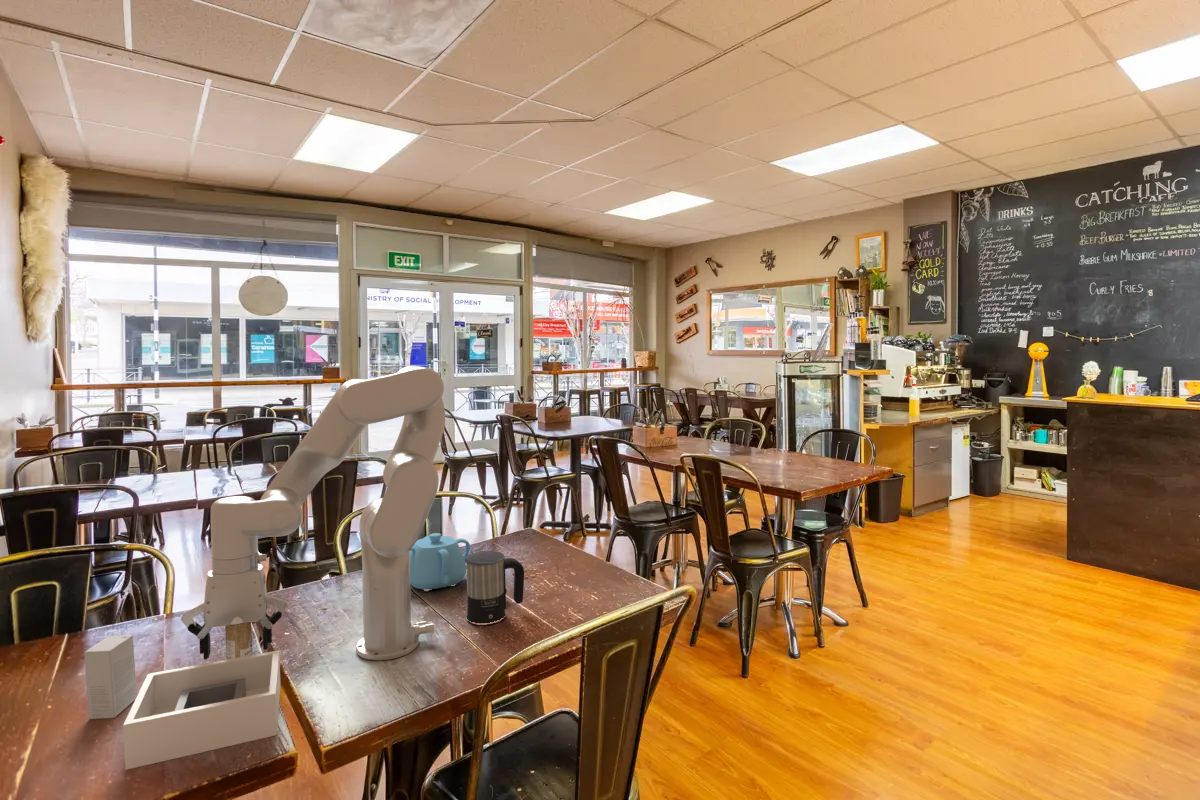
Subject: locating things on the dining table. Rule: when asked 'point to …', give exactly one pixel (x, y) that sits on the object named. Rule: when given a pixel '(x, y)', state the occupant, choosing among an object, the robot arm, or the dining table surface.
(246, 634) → the sprinkles bottle
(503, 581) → the milk frother
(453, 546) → the decorative pot
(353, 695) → the dining table surface
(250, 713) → the divided box
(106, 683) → the skincare box
